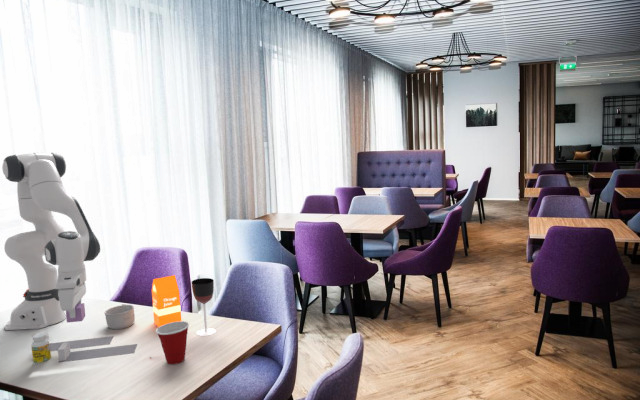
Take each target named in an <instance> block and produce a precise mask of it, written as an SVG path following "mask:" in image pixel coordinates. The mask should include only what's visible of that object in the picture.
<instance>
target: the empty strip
mask: <svg viewBox="0 0 640 400" xmlns="http://www.w3.org/2000/svg"><path fill="white" fill-rule="evenodd" d="M65 342H66V341H65ZM137 346H138V343H134V344H127V345H125V344H124V345H118V346H110V347H102V348H92V349H85V350H77V351H71V349H70V344H69V342H66V343H63V344H62V345H61V346H60V348H59V349H58V351H57V354H58V363H66V362H74V361H80V360H81V361H83V360H90V359H97V358H98V359H99V358H105V357H106V358H107V357H113V356H114V357H115V356H119V355H120V356H122V355H129V354H135V352H136V349H137Z"/></svg>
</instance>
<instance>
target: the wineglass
mask: <svg viewBox="0 0 640 400" xmlns="http://www.w3.org/2000/svg"><path fill="white" fill-rule="evenodd" d="M214 283H215V282H214V279H213V278H209V277H206V278H205V277H201V278H197V279H194V280H191V290H192V294H193V297H194V299H195V300H196V301H197V302H198V303H200V304H202V307H203V319H204V322H203V323H204V328H202V329H199V330H197V331H196V332H195V333H196V335H197V336H201V337H202V336H204V337H205V336H210V335H211V336H212V335H214V334H215V333H217V330H216V329H215V328H212V327H211V328H210V327H208V325H207V323H208V321H207V312H206V308H207V307H206V304H207V303H209V302H210V301H211V300H212V298H213V295H214V291H215V289H214V287H215V285H214Z"/></svg>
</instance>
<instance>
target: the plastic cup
mask: <svg viewBox="0 0 640 400" xmlns="http://www.w3.org/2000/svg"><path fill="white" fill-rule="evenodd" d="M189 326H190V323H189V322H188V321H183V320H181V321H177V322H171V323H168V324H165V325H162V326H160V327H157V328H156V329H155V333H156V334H157V336H158V338H159V341H160V345H161V348H162V351H163V354H164V357H165V361H166V363H167V364H169V365H177V364H181V363H183V362H184V361H185V358H186V352H187V341H188V340H187V338H188V337H187V336H188V330H189Z"/></svg>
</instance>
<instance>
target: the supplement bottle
mask: <svg viewBox="0 0 640 400" xmlns="http://www.w3.org/2000/svg"><path fill="white" fill-rule="evenodd" d="M46 334H47V333H45V332H43V333H42V332H41V333H37V334H34V335H32V341H33V342H31V345H30V346H31V354H32V361H33V362H32V363H33V364H34V366H36V365H37V364H38V363H43V362H44V363H45V362H47V361H49V360H51V359H52V351H50V340H48V339H46Z"/></svg>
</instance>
